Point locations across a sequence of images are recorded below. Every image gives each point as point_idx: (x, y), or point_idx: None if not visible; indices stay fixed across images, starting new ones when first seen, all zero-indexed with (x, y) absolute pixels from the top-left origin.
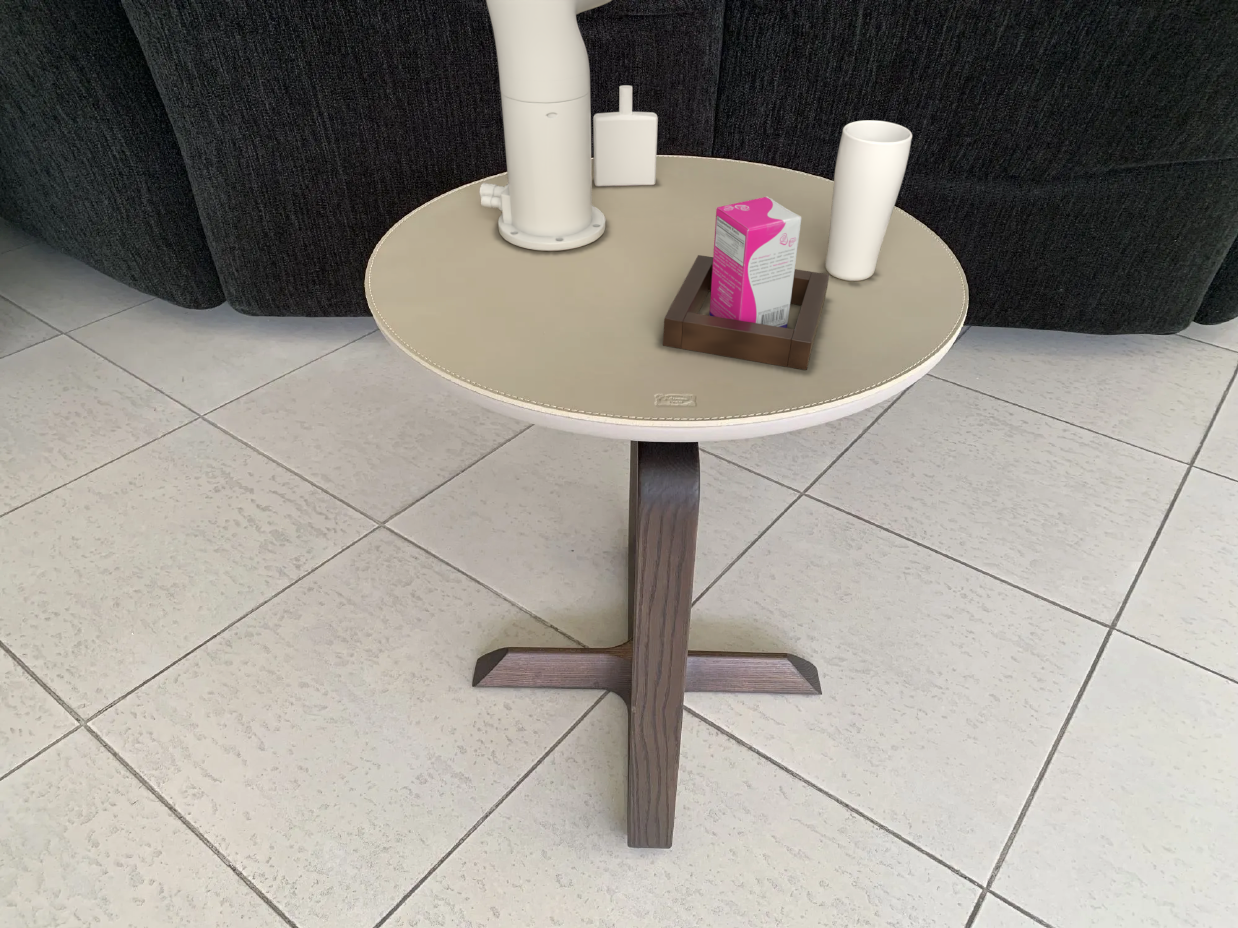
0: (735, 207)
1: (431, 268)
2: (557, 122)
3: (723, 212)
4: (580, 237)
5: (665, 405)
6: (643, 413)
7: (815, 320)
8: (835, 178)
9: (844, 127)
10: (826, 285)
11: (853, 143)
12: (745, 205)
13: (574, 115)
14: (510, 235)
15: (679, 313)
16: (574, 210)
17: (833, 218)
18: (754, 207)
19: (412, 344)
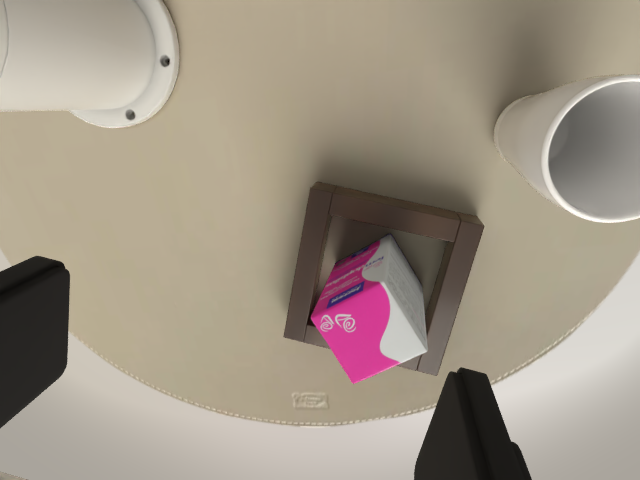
0: (336, 322)
1: (19, 182)
2: (7, 104)
3: (320, 332)
4: (153, 104)
5: (302, 407)
6: (285, 417)
7: (447, 335)
8: (516, 151)
9: (548, 138)
10: (474, 256)
11: (552, 198)
12: (350, 315)
13: (22, 82)
14: (68, 110)
15: (298, 328)
16: (125, 90)
17: (507, 152)
18: (362, 322)
19: (70, 328)
